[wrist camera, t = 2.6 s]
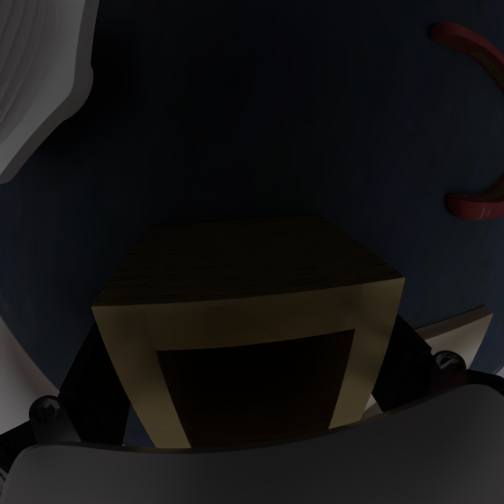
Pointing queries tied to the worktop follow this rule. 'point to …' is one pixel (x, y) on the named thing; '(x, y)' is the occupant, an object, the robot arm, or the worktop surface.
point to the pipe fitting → (41, 72)
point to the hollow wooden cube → (247, 329)
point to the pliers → (500, 69)
